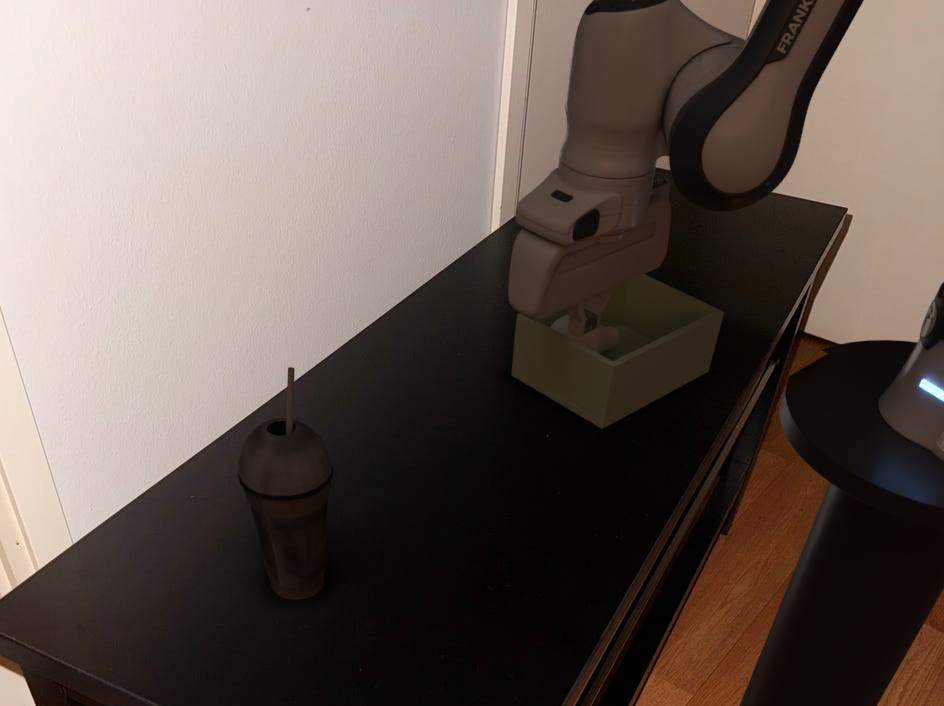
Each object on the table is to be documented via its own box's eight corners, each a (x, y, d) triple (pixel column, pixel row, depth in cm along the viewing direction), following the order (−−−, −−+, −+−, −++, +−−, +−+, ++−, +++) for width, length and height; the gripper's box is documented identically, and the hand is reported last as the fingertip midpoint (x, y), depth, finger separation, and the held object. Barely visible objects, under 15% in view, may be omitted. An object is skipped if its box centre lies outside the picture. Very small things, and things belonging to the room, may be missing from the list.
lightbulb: (622, 298, 106) (563, 304, 99) (645, 347, 106) (587, 357, 99) (584, 327, 111) (525, 334, 104) (606, 374, 111) (548, 385, 103)
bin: (618, 325, 115) (629, 266, 110) (708, 371, 108) (724, 311, 103) (510, 375, 106) (516, 314, 100) (602, 429, 99) (613, 366, 94)
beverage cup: (242, 568, 81) (207, 358, 67) (320, 544, 84) (303, 337, 70) (273, 622, 77) (243, 410, 63) (354, 594, 80) (344, 385, 66)
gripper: (647, 158, 95) (624, 290, 105) (502, 209, 85) (493, 349, 95) (697, 178, 92) (669, 312, 102) (553, 233, 82) (538, 375, 92)
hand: (583, 330), depth 98 cm, fingers closed
